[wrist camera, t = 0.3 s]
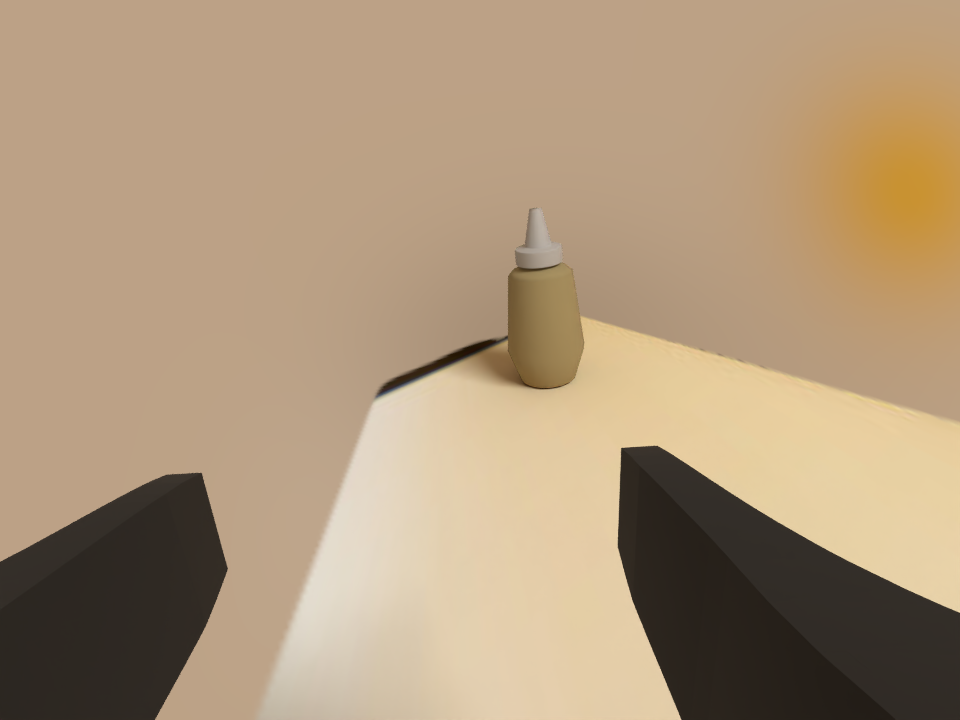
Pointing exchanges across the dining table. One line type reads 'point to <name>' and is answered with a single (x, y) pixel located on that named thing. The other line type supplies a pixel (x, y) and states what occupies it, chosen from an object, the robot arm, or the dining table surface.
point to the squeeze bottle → (543, 311)
